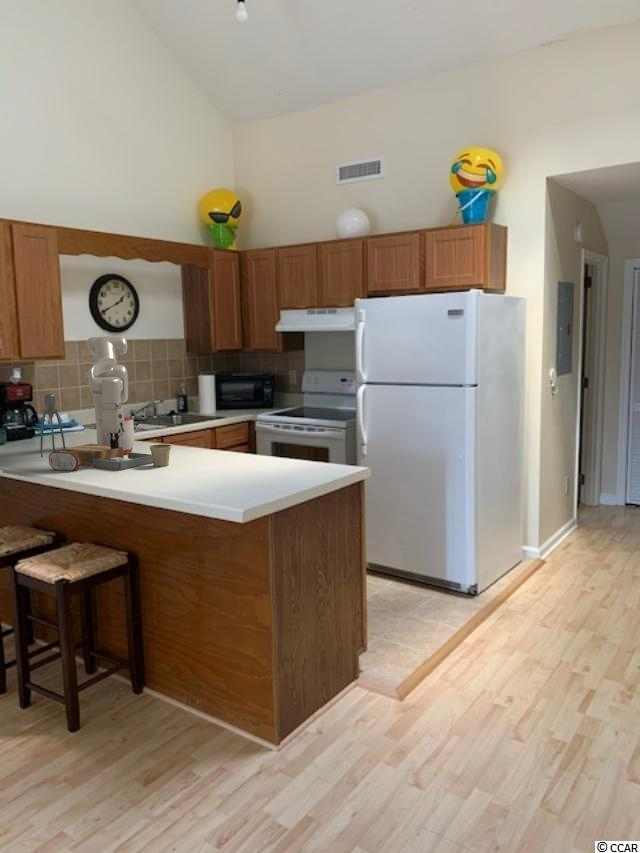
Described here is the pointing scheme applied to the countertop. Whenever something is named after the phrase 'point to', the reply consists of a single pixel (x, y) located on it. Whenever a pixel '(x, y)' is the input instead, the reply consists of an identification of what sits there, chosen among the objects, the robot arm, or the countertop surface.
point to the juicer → (50, 410)
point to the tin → (64, 460)
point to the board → (95, 452)
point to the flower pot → (160, 454)
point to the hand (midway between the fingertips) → (114, 448)
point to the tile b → (116, 459)
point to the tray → (125, 462)
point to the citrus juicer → (125, 439)
